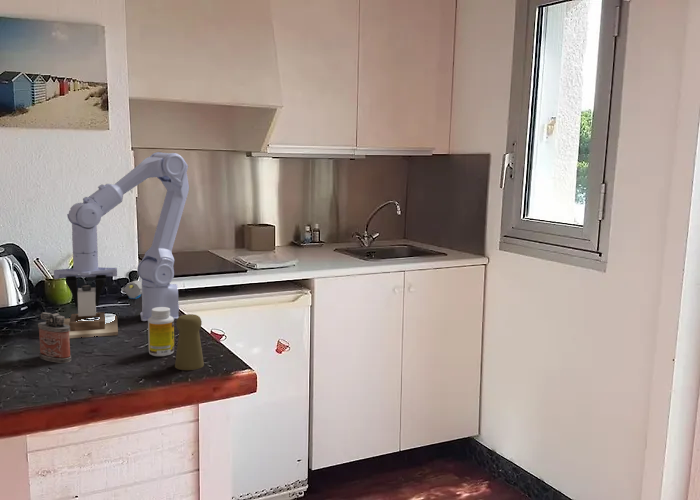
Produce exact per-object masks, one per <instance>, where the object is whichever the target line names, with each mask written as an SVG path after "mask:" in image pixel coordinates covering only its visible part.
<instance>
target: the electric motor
mask: <svg viewBox="0 0 700 500" xmlns="http://www.w3.org/2000/svg"><path fill="white" fill-rule="evenodd" d="M121 291H122V292H125V294H126V295H127V296H128V299H129V300H130V299H131V300H137V299H139V298H142V281H140V280H133V281H131V282H129V283H127V284H126V286H125V287H122V288H121Z"/></svg>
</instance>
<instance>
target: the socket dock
mask: <svg viewBox="0 0 700 500" xmlns="http://www.w3.org/2000/svg"><path fill="white" fill-rule="evenodd" d="M105 316H106V312H104V311H103V312H99V311H98V312H96V316H79V317H78V313H71V314H70V318H64V324H65V325H68V326H70V331H69V337H70V339H80V338H81V337H82V338H95V337H96V336H98V337H111V336H119V327H118V315H114V316H115V320H114V321H112V322H110V323H106V324H105ZM92 317H100V319H99V320H94V321H78V320H81V319H86V318H92ZM76 321H77V322H76ZM94 336H95V337H94ZM82 338H81V339H82ZM96 338H97V337H96Z"/></svg>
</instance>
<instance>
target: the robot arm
mask: <svg viewBox="0 0 700 500" xmlns="http://www.w3.org/2000/svg"><path fill="white" fill-rule="evenodd" d="M188 168H189V165H188V163H187V162H186V161H185V158H184V157H183V156H181V155H180V154H179V153H175V152H174V153H173V152H171V153H170V152H169V153H167V152H161V151H157V152H154V153H152V154H151V155H150V156H147V157H146V158H144V159H143V160H142V161H141V162H140V163H139V164H138V165H136V166H135V167H134V168H133V169H131V170H130V171H129V172H128V173H127V174H125V175H124V176H123V177H122V178H120V179H119V180H117V182H115V183H114V184H112V183H106V184H101V183H100V185H98V186H97V188H98V189H97V190H96V191H94V192H93V193H92V194H90V195H89V196H84V197H82V201H83V202H77V203H75V204H73V205H71V207H70V208H69V209H70V210H69V211H68V213H67V214H66V217H67V220H68V221H69V222H70V224H71V229H72V230H71V233H72V234H71V237H72V238H71V241H72V242H71V243H72V266H73V268H61V269H54V270H53V279H54V280H58V279H65V283H66V285H67V287H68V289H69V290H70V294H71V295H72V299H73V300H74V307H75V308H78V278H95V279H94V280H95V292H96V300H95V303H96V307H99V302H100V297H101V293H102V290H103V289H104V285H105V284H106V281H107V277H113V278H114V277H118V268H117V267H100V266H99V255H98V253H99V252H98V251H99V250H98V232H97V231H98V225H99V224H100V223H101V219H102V217H104V216H105V215H106V214H107V213H109V212H111V210H113V209H114V208H116V207H117V206H118V205H119V204H121V203H122V202H123V198H124V195H125V194H126V193H128V192H129V191H131V190H133V189H134V188H135V187H137V186H139V185H140V184H141V183H143V182H144V181H146V180H148V179H150V178H157V179H159V181H160V182H161V183H162V185H163V186H164V188H165V189H166V194H165V196H164V201H163V203H162V208H161V211H160V214H159V218H158V222H157V224H156V227H155V228H156V229H155V233H154V235H153V239H152V243H151V246H150V247H149V248H148V249H147V250H146V251H145V252H144V256H143V257H142V260H140V262H139V263H138V264H137V268H136V271H137V275H138V277H139V278H140V279H141V282H142V294H141V306H142V307H141V309H142V311H141V312H140V313H139V314H140V320H141V321H142V322H148V319H149V318H150V317H152V309H153V308H156V307H168V308H170V316H172V317H173V318H174V320H177V319H178V317H179V311H180V305H179V289H178V284H177V283H171V282H172V280H174V277H175V270H174V269H175V268H174V265H175V257H174V255H173V253H172V252H173V247H174V245H175V241H176V237H177V233H178V230H179V227H180V223H181V219H182V217H183V216H182V215H183V213H184V209H185V206H186V205H185V204H186V202H187V199H188V195H189V191H190V185H189V178H188V173H187V172H188V170H189V169H188Z"/></svg>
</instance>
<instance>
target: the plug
mask: <svg viewBox="0 0 700 500" xmlns="http://www.w3.org/2000/svg"><path fill="white" fill-rule="evenodd" d="M77 289H78V307H77V314H78V317H79V316H96V313H97V306H96V303H95V300H96V287H92V285H89V284H87V285H86V284H85V285H81V288H80V287H77Z"/></svg>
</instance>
